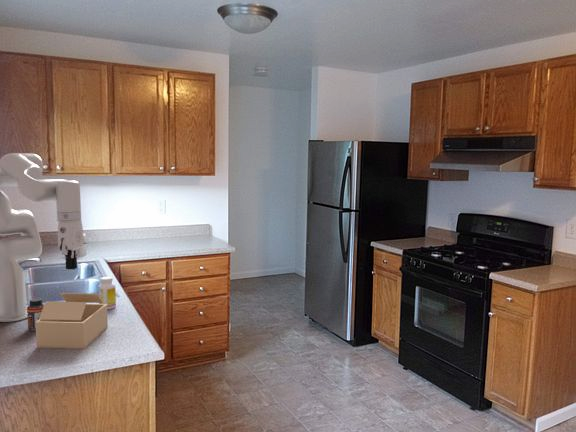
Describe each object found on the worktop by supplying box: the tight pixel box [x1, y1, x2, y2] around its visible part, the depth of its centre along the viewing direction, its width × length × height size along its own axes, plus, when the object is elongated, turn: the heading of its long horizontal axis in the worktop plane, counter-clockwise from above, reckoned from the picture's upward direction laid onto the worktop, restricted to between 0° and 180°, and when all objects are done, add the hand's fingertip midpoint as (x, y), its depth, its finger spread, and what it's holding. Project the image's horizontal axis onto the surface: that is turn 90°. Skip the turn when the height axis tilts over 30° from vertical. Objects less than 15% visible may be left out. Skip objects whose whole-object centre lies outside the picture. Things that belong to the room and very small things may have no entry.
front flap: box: [39, 300, 87, 320], centre depth 158 cm, size 14×6×1 cm
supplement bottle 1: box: [27, 297, 45, 332], centre depth 173 cm, size 6×6×11 cm
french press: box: [77, 232, 89, 259], centre depth 295 cm, size 10×12×25 cm
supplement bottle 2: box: [98, 276, 117, 310], centre depth 199 cm, size 7×7×13 cm
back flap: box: [59, 292, 103, 304], centre depth 173 cm, size 14×6×1 cm
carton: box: [35, 303, 109, 350], centre depth 166 cm, size 16×20×9 cm
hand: (71, 268), depth 164 cm, fingers closed
